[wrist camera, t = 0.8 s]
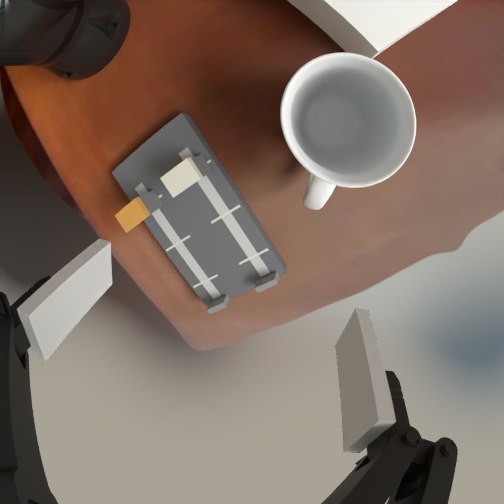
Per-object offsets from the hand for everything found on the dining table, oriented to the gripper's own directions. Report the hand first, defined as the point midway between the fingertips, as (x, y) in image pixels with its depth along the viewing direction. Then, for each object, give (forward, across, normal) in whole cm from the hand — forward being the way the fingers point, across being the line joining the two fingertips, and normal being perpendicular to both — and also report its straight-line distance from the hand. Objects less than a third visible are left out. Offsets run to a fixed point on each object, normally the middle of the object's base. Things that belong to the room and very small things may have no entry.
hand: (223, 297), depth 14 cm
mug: (+24, +6, +9) cm, 26 cm away
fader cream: (+22, -9, 0) cm, 23 cm away
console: (+24, -8, -6) cm, 26 cm away
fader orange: (+22, -14, -5) cm, 27 cm away
